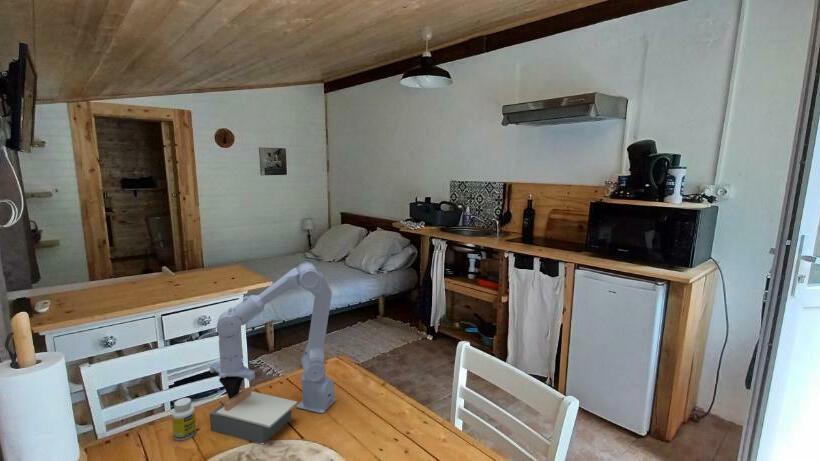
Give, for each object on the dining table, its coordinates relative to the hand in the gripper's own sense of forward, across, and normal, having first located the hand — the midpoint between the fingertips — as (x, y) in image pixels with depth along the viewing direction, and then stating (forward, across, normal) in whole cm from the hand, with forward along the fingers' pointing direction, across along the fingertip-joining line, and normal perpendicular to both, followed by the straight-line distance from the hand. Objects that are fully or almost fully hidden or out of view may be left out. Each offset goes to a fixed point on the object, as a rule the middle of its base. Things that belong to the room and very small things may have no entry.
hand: (233, 398), depth 116 cm
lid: (+1, +8, 0) cm, 9 cm away
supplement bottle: (+7, -8, -10) cm, 15 cm away
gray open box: (+7, +6, 0) cm, 9 cm away
